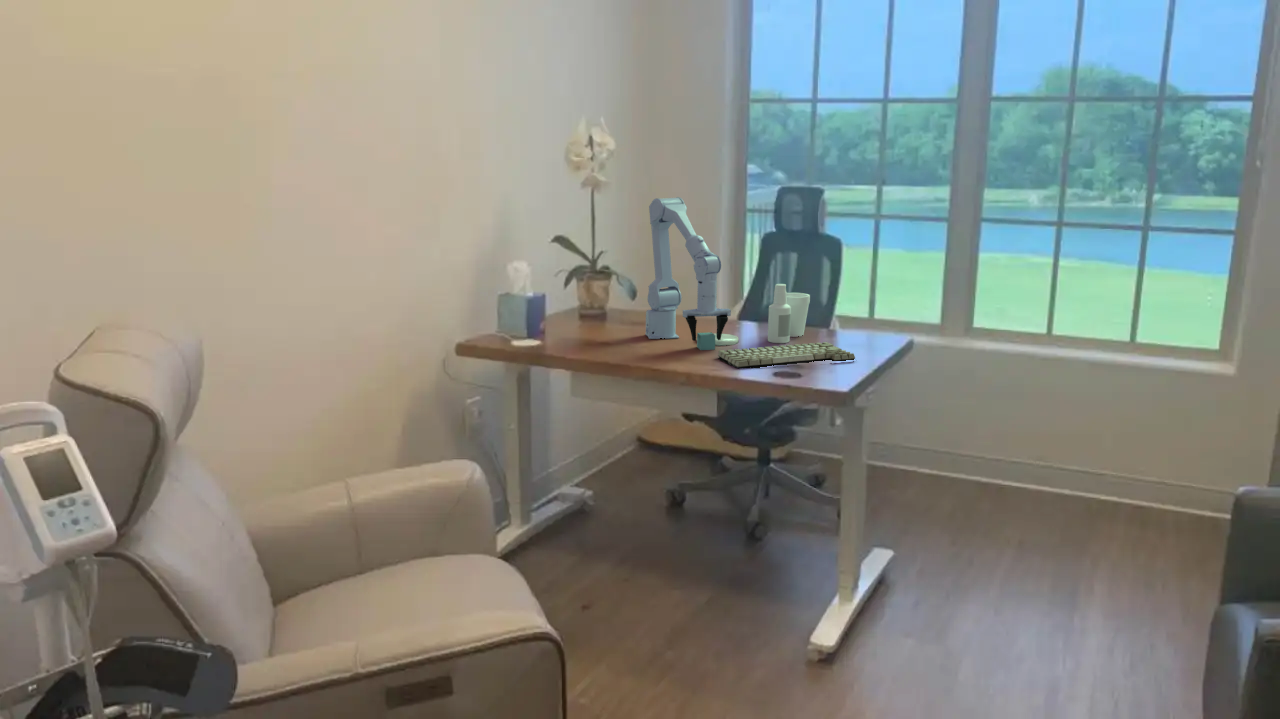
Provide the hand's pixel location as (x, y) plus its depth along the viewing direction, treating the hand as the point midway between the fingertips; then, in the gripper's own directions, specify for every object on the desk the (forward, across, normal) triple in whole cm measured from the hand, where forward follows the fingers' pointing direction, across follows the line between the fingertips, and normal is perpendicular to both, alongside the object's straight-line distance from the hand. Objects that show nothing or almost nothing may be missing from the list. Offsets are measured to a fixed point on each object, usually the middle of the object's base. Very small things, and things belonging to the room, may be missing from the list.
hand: (706, 339), depth 308 cm
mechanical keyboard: (+4, +19, -18) cm, 27 cm away
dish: (+3, +6, +9) cm, 11 cm away
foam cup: (+3, +33, +15) cm, 36 cm away
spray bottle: (+3, +25, +6) cm, 26 cm away
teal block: (+3, 0, 0) cm, 3 cm away
